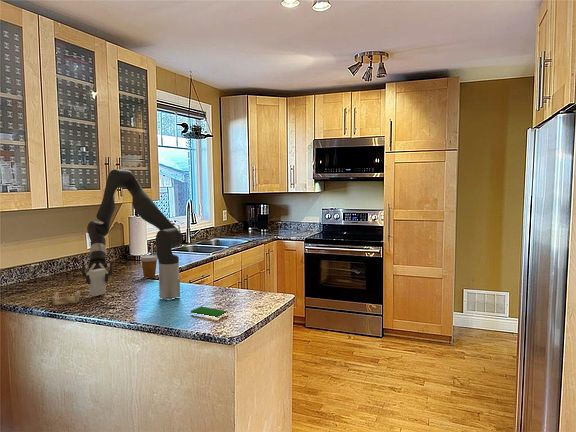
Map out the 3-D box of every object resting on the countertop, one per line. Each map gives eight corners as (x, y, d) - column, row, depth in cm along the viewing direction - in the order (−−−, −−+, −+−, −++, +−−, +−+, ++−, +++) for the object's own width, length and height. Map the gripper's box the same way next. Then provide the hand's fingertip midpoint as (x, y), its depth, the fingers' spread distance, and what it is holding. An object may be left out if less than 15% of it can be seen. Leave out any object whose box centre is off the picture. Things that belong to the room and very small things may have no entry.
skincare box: (101, 292, 202) (99, 268, 200) (106, 293, 199) (105, 269, 198) (89, 295, 196) (88, 270, 195) (95, 296, 194) (93, 271, 193)
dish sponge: (201, 311, 178) (201, 306, 178) (227, 316, 172) (227, 311, 172) (190, 316, 172) (190, 310, 171) (217, 321, 165) (217, 316, 165)
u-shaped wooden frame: (80, 296, 198) (79, 290, 197) (77, 302, 188) (77, 296, 187) (56, 298, 194) (56, 292, 194) (52, 305, 184) (52, 298, 184)
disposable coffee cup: (160, 275, 241) (160, 254, 240) (153, 279, 231) (153, 258, 230) (145, 274, 242) (144, 254, 241) (137, 278, 232) (137, 257, 231)
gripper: (81, 251, 200) (79, 280, 191) (113, 249, 205) (113, 277, 196) (82, 259, 206) (81, 288, 196) (113, 257, 211) (114, 285, 201)
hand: (97, 282), depth 196 cm, fingers closed on skincare box, 7 cm apart
